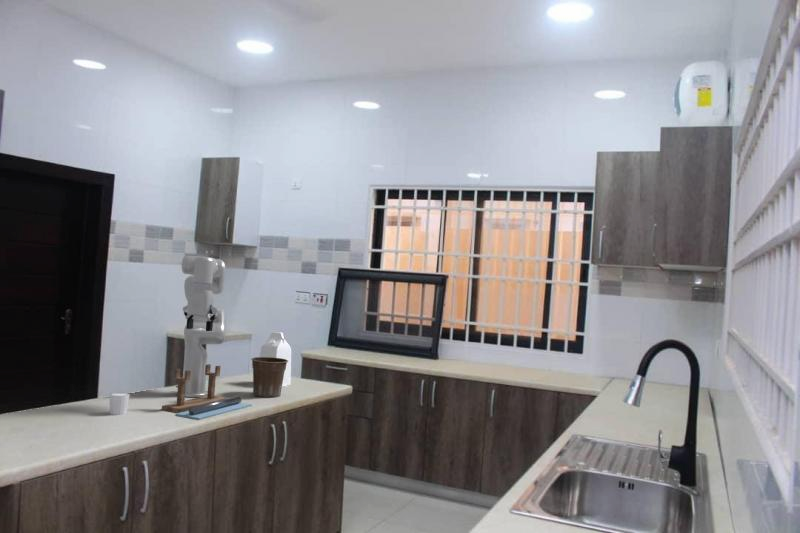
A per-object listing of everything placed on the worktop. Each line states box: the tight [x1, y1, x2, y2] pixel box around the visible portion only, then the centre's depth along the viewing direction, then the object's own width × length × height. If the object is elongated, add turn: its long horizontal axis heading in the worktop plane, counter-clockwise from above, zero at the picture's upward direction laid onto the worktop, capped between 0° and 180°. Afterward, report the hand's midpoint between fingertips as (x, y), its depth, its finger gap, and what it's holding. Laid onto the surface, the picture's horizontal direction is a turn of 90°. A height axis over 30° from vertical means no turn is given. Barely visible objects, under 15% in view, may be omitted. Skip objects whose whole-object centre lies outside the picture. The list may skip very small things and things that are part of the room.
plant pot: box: [251, 356, 288, 398], centre depth 285 cm, size 16×16×16 cm
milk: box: [259, 331, 292, 387], centre depth 311 cm, size 12×12×26 cm
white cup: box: [108, 392, 130, 416], centre depth 233 cm, size 7×7×7 cm
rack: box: [161, 363, 228, 413], centre depth 254 cm, size 9×28×15 cm, turn 158°
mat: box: [175, 401, 253, 420], centre depth 248 cm, size 11×32×1 cm, turn 158°
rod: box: [189, 395, 242, 415], centre depth 248 cm, size 28×3×3 cm, turn 158°
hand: (199, 329), depth 255 cm, fingers open, 9 cm apart
